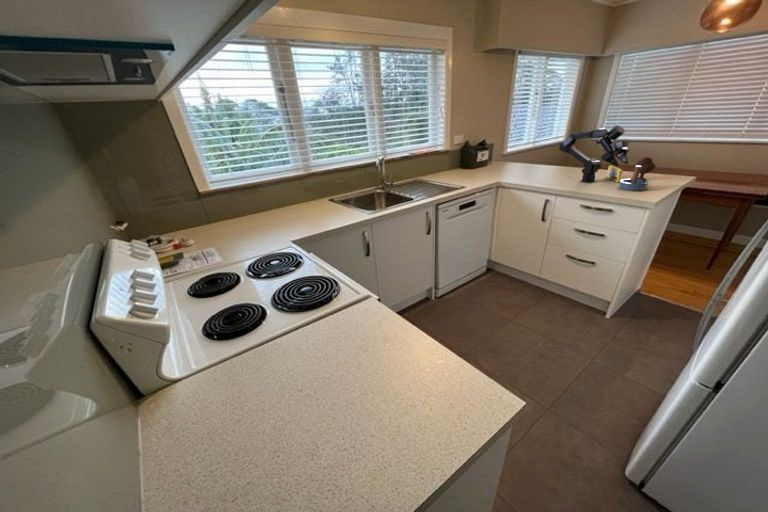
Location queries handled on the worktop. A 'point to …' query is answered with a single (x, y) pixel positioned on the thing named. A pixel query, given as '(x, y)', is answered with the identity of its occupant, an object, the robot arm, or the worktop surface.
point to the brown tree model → (645, 166)
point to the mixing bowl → (633, 185)
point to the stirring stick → (636, 174)
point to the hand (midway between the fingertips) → (622, 164)
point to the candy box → (614, 173)
